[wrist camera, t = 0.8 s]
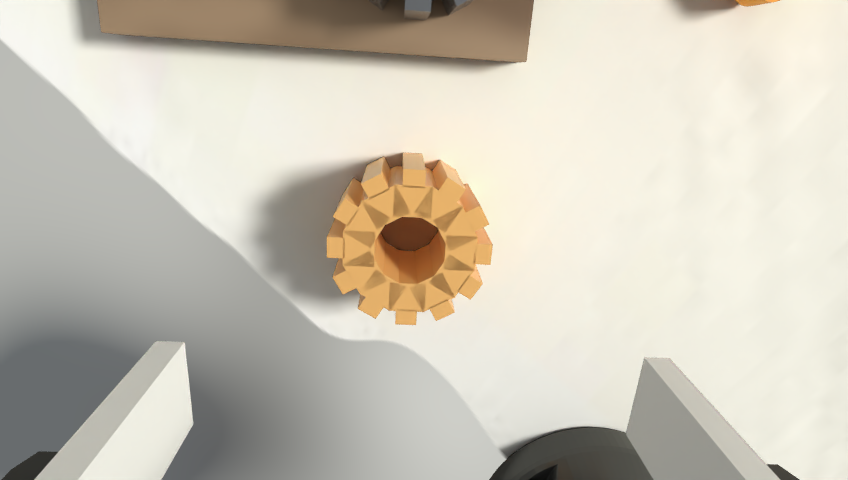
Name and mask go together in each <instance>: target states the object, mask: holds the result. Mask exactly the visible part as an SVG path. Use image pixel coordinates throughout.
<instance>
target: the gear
mask: <svg viewBox="0 0 848 480" xmlns="http://www.w3.org/2000/svg"><path fill="white" fill-rule="evenodd" d="M368 1H369V2H371V3H372V4H374V5H375V6H376V7H378V8H379V9H381V10H382V11H383V9H384V8H385V6H386V4H387V2H388V1H389V0H368ZM432 1H435V0H405V10H404V19H413V20H427V18H428V16H429V14H430V13H431V2H432ZM472 1H473V0H442V3H443V5H444V7H445V10H446V12H447V14H448V16H449V15H451V14H453V13H454V12H456V11H458V10H460V9H462V8H464V7H466V6H468V5H469V4H470V3H471V2H472Z"/></svg>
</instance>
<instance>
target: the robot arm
mask: <svg viewBox="0 0 848 480" xmlns="http://www.w3.org/2000/svg"><path fill="white" fill-rule="evenodd" d="M190 399H191V398H190V389H189V379H188V370H187V360H186V351H185V342H167V341H156V342H155V343H154V344H153V345H152V346H151V347H150V349H149V350H148V351H147V352H146V353H145V354H144V355H143V357H142V358H141V359H140V360H139V361H138V362H137V363H136V365H135V366H134V367H133V368H132V369H131V370H130V372H129V373H128V374H127V375H126V376H125V377H124V378H123V380H121V382H120V383H119V384H118V385H117V386H116V387H115V388H114V390H113V391H112V392H111V393H110V394H109V395H108V396H107V398H106V399H105V400H104V401H103V402H102V403H101V404H100V405H99V407H98V408H97V409H96V410H95V411H94V413H92V415H91V416H90V417H89V418H88V419H87V420H86V421H85V423H84V424H83V425H82V426H81V427H80V428H79V429H78V431H77V432H76V433H75V434H74V435H73V436H72V437H71V438H70V440H69V441H68V442H67V443H66V444H65V445H64V447H63V448H62V449H61V450H60V451H59V452H37V453H36V454H34V455H33V456H31V457H30V458H28V459H27V460H25V461H24V462H22V463H20V464H19V465H17V466H16V467H14V468H13V469H11V470H10V471H9V472H8V474H7V475H6V476H5V477H4V478H3V479H2V480H161V479H162V477H163V476H164V474H165V472H166V470H167V469H168V467H169V465H170V463H171V462H172V460H173V458H174V456H175V455H176V453H177V451H178V449H179V448H180V446H181V444H182V442H183V441H184V439H185V437H186V436H187V434H188V432H189V430H190V429H191V427H192V425H193V417H192V408H191V400H190ZM490 480H799V479H798V478H796V477H795V476H793V475H792V474H790V473H789V472H788V471H786V470H785V469H783V468H782V467H780V466H779V465H773V464H766V463H765V462H764V461H763V460H762V459H761V458H760V457H759V456H758V455H757V454H756V452H755V451H754V450H753V449H752V448H751V447H750V446H749V445H748V444H747V443H746V441H745V440H744V439H743V438H742V437H741V436H740V435H739V434H738V433H737V432H736V431H735V429H734V428H733V427H732V426H731V425H730V424H729V423H728V422H727V421H726V420H725V418H724V417H723V416H722V415H721V414H720V413H719V412H718V411H717V410H716V409H715V408H714V406H713V405H712V404H711V403H710V402H709V401H708V400H707V399H706V398H705V397H704V395H703V394H702V393H701V392H700V391H699V390H698V389H697V388H696V387H695V386H694V384H693V383H692V382H691V381H690V380H689V379H688V378H687V377H686V376H685V375H684V374H683V372H682V371H681V370H680V369H679V368H678V367H677V366H676V365H675V364H674V363H673V361H672V360H671V359H670V358H647V357H644V361H643V365H642V369H641V373H640V377H639V382H638V386H637V390H636V394H635V398H634V402H633V406H632V410H631V415H630V419H629V423H628V427H627V431H626V433H625V432H621V431H617V430H612V429H605V428H578V429H570V430H565V431H561V432H557V433H553V434H550V435H547V436H545V437H542V438H540V439H538V440H535V441H533V442H531V443H530V444H528V445H526V446H524V447H523V448H521V449H519V450H518V451H517V452H515V453H514V454H513V455H511V456H510V457H509V458H508V459H507V460H506V461H505V462H503V463H502V464H501V466H500V467H499V468H498V469H497V470H496V471H495V473H494V474H493V475H492V477H491V478H490Z"/></svg>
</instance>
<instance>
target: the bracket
mask: <svg viewBox="0 0 848 480" xmlns="http://www.w3.org/2000/svg"><path fill="white" fill-rule="evenodd" d="M777 1H780V0H736V2H737V3H739V4H740V5H743V6H754V5H760V4H765V3H771V2H777Z"/></svg>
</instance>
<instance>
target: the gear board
mask: <svg viewBox="0 0 848 480" xmlns="http://www.w3.org/2000/svg"><path fill="white" fill-rule="evenodd" d="M533 3H534V0H473V1H472V2H471V3H470V4H469V5H468V6H466V7H464V8H462V9H460V10H458V11H456V12H454V13H453V14H451V15H449V16H448V14H447V12H446V10H445V7H444V5H443V3H442V0H435V1H432V2H431V13H430V14H429V16H428V18H427V20H413V19H404V10H405V0H389V1H388V2H387V4H386V6H385V8H384V9H383V11H382V10H381V9H379V8H378V7H376V6H375V5H374V4H372V3H371V2H369V1H368V0H97V4H98V11H99V19H100V27H101V32H102V33H111V34H119V35H130V36H145V37H159V38H174V39H188V40H202V41H217V42H231V43H246V44H260V45H274V46H289V47H303V48H318V49H332V50H347V51H361V52H375V53H390V54H404V55H419V56H433V57H447V58H462V59H476V60H491V61H505V62H526V60H527V52H528V44H529V36H530V28H531V19H532V11H533Z"/></svg>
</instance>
